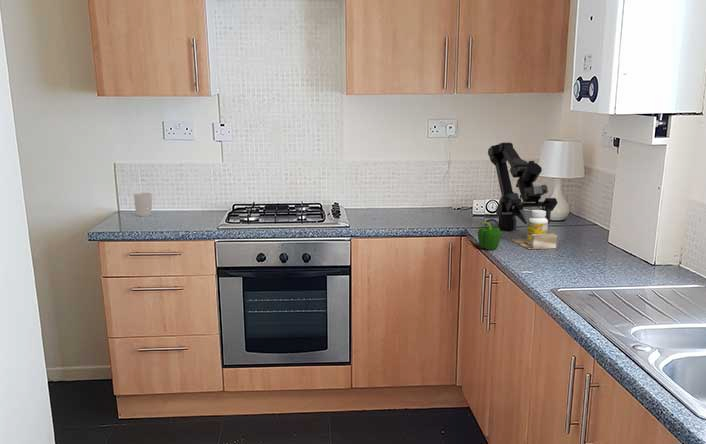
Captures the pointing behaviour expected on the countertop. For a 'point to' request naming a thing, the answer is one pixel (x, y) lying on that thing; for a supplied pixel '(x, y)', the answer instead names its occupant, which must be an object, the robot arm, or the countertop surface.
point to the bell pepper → (489, 237)
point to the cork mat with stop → (539, 241)
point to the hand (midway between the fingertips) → (537, 223)
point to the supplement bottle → (537, 224)
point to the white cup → (143, 204)
